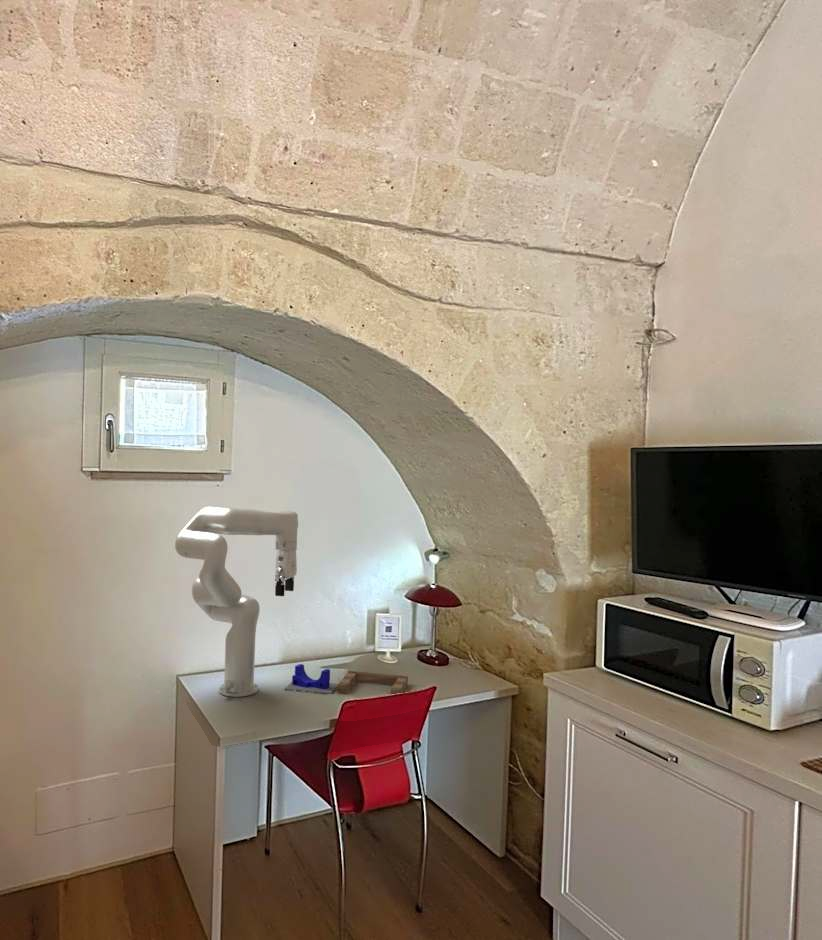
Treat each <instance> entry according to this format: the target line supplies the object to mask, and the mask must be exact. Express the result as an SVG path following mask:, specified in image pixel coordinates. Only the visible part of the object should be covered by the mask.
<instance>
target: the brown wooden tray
mask: <svg viewBox="0 0 822 940" xmlns="http://www.w3.org/2000/svg"><path fill="white" fill-rule="evenodd" d="M354 683H362V684H363V683H364V684H375V685H383V686H385V685H386V686H392V687H391V689H390V691H389V692H390V693H389V694H397V693H402V692H403V693H404V692H405V690H406V689H407V687H408V683H409V677H408V675H395V674H387V673H376V672H366V671H355V670H348V672H347V673H346V674H345V675H344V677H343V678H341V680H340V681H338V683H336V684H337V689H336V693H340V694H339V695H347V694H348V692H349V691H350V690H351V689H352V688H353V686H354V685H355V684H354ZM349 689H350V690H349Z"/></svg>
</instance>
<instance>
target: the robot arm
mask: <svg viewBox="0 0 822 940" xmlns="http://www.w3.org/2000/svg"><path fill="white" fill-rule="evenodd" d="M298 529H299V516H298V513H297V512H295V511H291V510H290V511H289V510H287V511H284V510H282V511H278V512H273V511H264V510H260V509H258V510H257V509H249V508H247V509H246V508H234V507H233V508H232V507H222V506H221V507H220V506H219V507H218V506H206V507H203V508H202V509H200V511H198V512H197V513H196V514H195V515H194V516H193V517H192V518H191V519H190V520H189V521H188V523H187V524H186V525H185V526H184V527H183V529H181V531H180V532H179V533H178V534H177V536H176V538H175V543H174V548H175V551H176V554H178V555H179V556H181V557H183V558H187V559H194V560H201V561H203V560H204V561H203V565H202V567H201V569H200V572H199V575H198V577H197V578H195V580H194V582H193V583H192V586H191V595H192V599H193V600H194V602H195V604H197V606H198V607H200V609H201V611H203V612H204V613H205V614H206V615H207V616H208V617H209V618H210V619H212V620H214V621H216V622H221V623H228V624H231V625H232V626H231V627H230V629H229V630H228V632H227V633H226V636H225V647H224V648H225V649H224V650H225V652H224V654H225V655H224V674H223V675H224V677H223V678H224V680H223V684H221V685H220V686H219V688H218V692H219V694H221V695H223V696H227V697H235V698H239V697H249V696H252V695H254V694H256V693H257V692H258V691H259V685H258V684H257V683H255V657H256V656H255V655H256V632H257V624H258V619H259V615H260V603H259V601H258V600H257V599H256V598H254V597H252V596H249V595H244V594H243V593H242V589H241V587H240V585H239V584H238V582H237V581H236V580H235V578H233V576H232V575H231V574H230V573H229V571H228V570H227V569H226V561H227V560H226V559H227V554H228V548H229V547H228V542H227V540H226V538H225V537H224V536H222V535H226V536H227V535H228V536H242V535H243V536H275V551H276V557H275V570H274V571H275V573H274V577H275V579H274V581H275V583H274V585H275V586H274V587H275V591H274V592H275V594H274V595H275V597H285V591H286V592H287V591H288V592H294V586H295V576H296V575H297V568H298V567H297V563H298V562H297V550H298V547H297V546H298Z"/></svg>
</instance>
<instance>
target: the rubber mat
mask: <svg viewBox="0 0 822 940" xmlns="http://www.w3.org/2000/svg"><path fill="white" fill-rule="evenodd" d="M337 684H338V683H335V682H330V686H329V688H327V689H325V690H324V689H319V688H314V687H308V688H305V687H300V686H296V685H292V681H290V683H289V684H288V685H287V686H286V687H284V691H287V690H296V691H295V692H297V691H305V692H304V693H306V692H314V693H313V694H316V693H324V694H323V695H326V694H331V695H333V694H334V692H335V691H336V690H337V689H336V688H337ZM335 689H336V690H335ZM334 690H335V691H334Z"/></svg>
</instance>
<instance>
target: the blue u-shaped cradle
mask: <svg viewBox="0 0 822 940" xmlns="http://www.w3.org/2000/svg"><path fill="white" fill-rule="evenodd" d="M294 667H295V668H294V675H292V677H291V680H292V681H291V682H292V685H296V686H300V687H305V688H308V687H314V688H319V689H324V690H325V689H327V688H329V686H330V683H331V682H330V680H331V669H330V668H325V669H323V670H321V673H320V677H319V678H318V679H313V678H311V677H310V676H309V675H308V674H307V673H306V670H305V664H302V663H299V664H297V665H295V666H294Z"/></svg>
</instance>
